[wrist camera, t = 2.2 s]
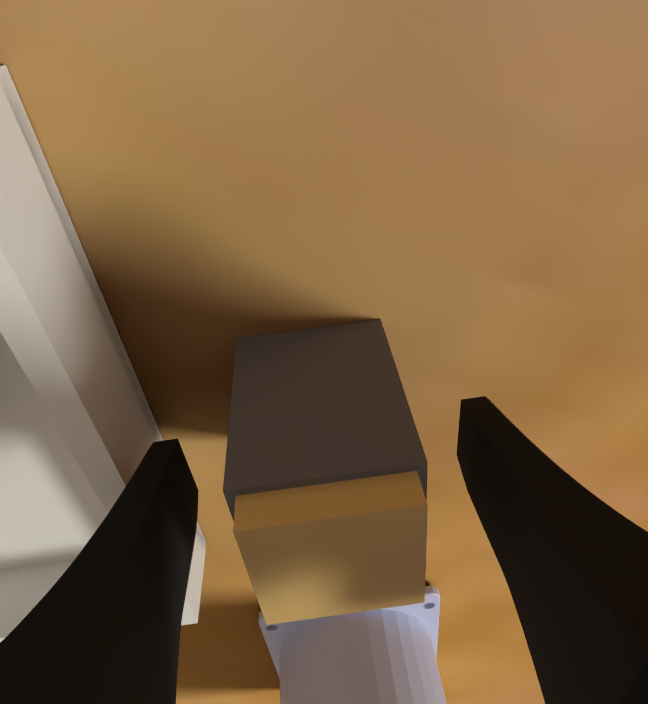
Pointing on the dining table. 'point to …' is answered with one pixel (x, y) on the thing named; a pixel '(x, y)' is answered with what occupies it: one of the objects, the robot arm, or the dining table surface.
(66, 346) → the walled box
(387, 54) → the dining table surface
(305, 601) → the plug
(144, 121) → the dining table surface
